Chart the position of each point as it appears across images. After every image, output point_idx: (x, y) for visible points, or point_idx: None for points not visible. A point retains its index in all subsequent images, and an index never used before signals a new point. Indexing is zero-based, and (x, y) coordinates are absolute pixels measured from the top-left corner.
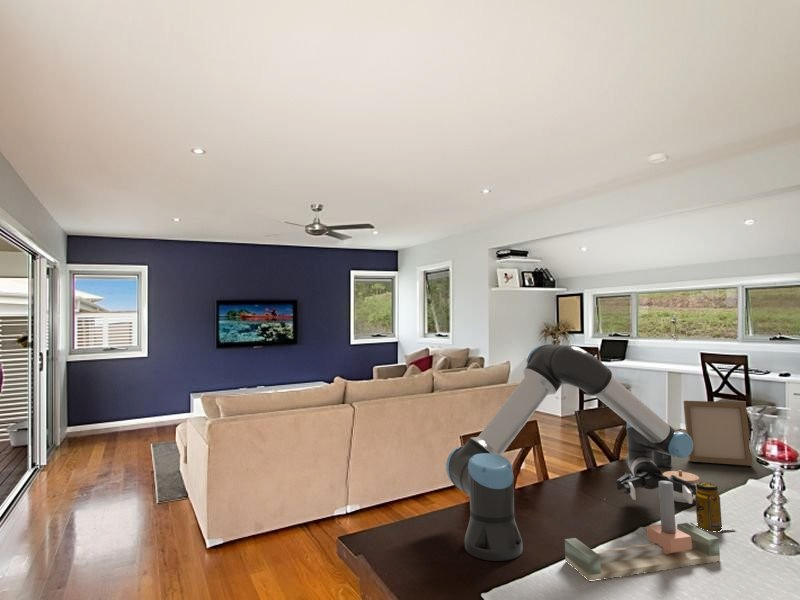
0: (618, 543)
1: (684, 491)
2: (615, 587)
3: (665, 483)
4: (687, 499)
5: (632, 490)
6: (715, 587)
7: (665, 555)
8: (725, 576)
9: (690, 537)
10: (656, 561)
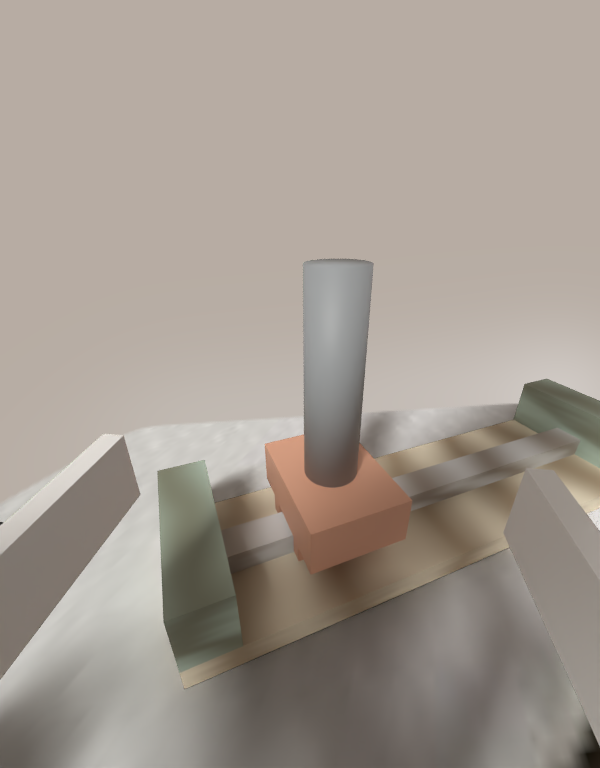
0: (539, 660)
1: (32, 564)
2: (474, 417)
3: (343, 260)
4: (113, 513)
5: (547, 476)
6: (276, 430)
7: None
8: (224, 463)
9: (268, 445)
10: (385, 467)
